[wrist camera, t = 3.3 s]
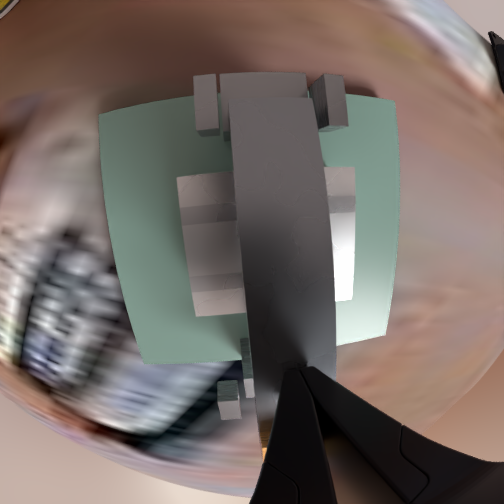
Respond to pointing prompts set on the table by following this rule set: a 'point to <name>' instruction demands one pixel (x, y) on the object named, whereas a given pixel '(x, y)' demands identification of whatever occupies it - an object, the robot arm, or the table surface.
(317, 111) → the post
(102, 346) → the table surface
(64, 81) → the table surface
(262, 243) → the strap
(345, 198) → the heatsink
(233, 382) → the post
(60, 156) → the table surface
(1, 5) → the supplement bottle
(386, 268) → the board
